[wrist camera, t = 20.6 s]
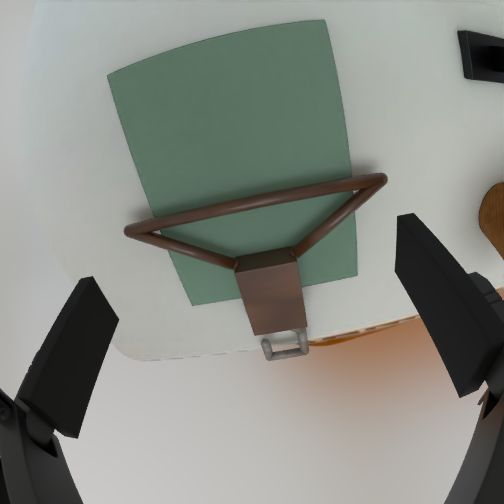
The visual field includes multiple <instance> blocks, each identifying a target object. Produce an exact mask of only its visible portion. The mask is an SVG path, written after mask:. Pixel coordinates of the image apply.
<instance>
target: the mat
mask: <svg viewBox="0 0 504 504" xmlns="http://www.w3.org/2000/svg"><path fill="white" fill-rule="evenodd" d="M107 78H108V81H109V85H110V88H111V92H112V95H113V99H114V102H115V105H116V108H117V112H118V115H119V118H120V121H121V125H122V128H123V131H124V134H125V137H126V140H127V143H128V146H129V149H130V152H131V155H132V158H133V160H134V163H135V166H136V169H137V172H138V175H139V177H140V180H141V183H142V186H143V188H144V191H145V194H146V196H147V199H148V202H149V204H150V207H151V210H152V212H153V215H154V217H155V218H157V217H161V216H165V215H169V214H173V213H177V212H181V211H185V210H189V209H194V208H198V207H202V206H206V205H211V204H215V203H220V202H224V201H229V200H233V199H238V198H243V197H247V196H252V195H257V194H262V193H267V192H272V191H277V190H282V189H287V188H292V187H298V186H303V185H308V184H314V183H320V182H325V181H331V180H337V179H343V178H349V177H352V174H351V164H350V155H349V147H348V139H347V132H346V125H345V118H344V111H343V105H342V99H341V93H340V88H339V82H338V77H337V72H336V66H335V62H334V57H333V52H332V48H331V43H330V39H329V34H328V30H327V26H326V22H325V20H314V21H304V22H295V23H287V24H280V25H273V26H267V27H261V28H255V29H250V30H245V31H240V32H236V33H231V34H227V35H223V36H219V37H215V38H211V39H207V40H203V41H200V42H196V43H193V44H189V45H186V46H183V47H180V48H176V49H173V50H170V51H167V52H164V53H162V54H159V55H156V56H153V57H150V58H148V59H145V60H143V61H140V62H137V63H135V64H132V65H130V66H128V67H125V68H123V69H120V70H118V71H116V72H114V73H111V74H109V75H107ZM352 196H353V191H348V192H342V193H336V194H330V195H325V196H319V197H314V198H308V199H303V200H298V201H292V202H287V203H282V204H277V205H272V206H267V207H262V208H257V209H252V210H247V211H243V212H238V213H233V214H228V215H224V216H219V217H214V218H210V219H205V220H201V221H196V222H192V223H188V224H183V225H179V226H175V227H170V228H166V229H162V230H160V232H161V235H164V236H167V237H170V238H173V239H176V240H179V241H182V242H185V243H188V244H192V245H195V246H198V247H201V248H204V249H207V250H210V251H214V252H217V253H220V254H223V255H226V256H229V257H232V258H235V257H237V256H242V255H248V254H253V253H258V252H263V251H268V250H274V249H279V248H284V247H289V246H294V245H296V244H297V243H298V242H299V241H300V240H302V239H303V238H304V237H305V236H306V235H307V234H309V233H310V232H311V231H312V230H313V229H314V228H316V227H317V226H318V225H319V224H320V223H321V222H323V221H324V220H325V219H326V218H327V217H328V216H330V215H331V214H332V213H333V212H334V211H335V210H337V209H338V208H339V207H340V206H341V205H342V204H343V203H345V202H346V201H347V200H348V199H349V198H350V197H352ZM168 252H169V254H170V257H171V259H172V261H173V264H174V266H175V268H176V271H177V273H178V275H179V277H180V280H181V282H182V284H183V287H184V289H185V291H186V293H187V295H188V298H189V300H190V302H191V304H192V306H194V305H201V304H207V303H214V302H220V301H226V300H232V299H238V298H242V296H241V293H240V290H239V287H238V284H237V281H236V278H235V275H234V271H233V270H230V269H226V268H223V267H220V266H217V265H214V264H210V263H207V262H204V261H201V260H198V259H194V258H191V257H188V256H185V255H182V254H179V253H176V252H172V251H169V250H168ZM297 264H298V270H299V276H300V282H301V287H305V286H310V285H315V284H320V283H325V282H330V281H335V280H340V279H345V278H349V277H354V276H357V275H358V274H357V242H356V223H355V211H354V212H353V213H352V214H351V215H350V216H348V217H347V218H346V219H345V220H344V221H343V222H341V223H340V224H339V225H338V226H337V227H336V228H334V229H333V230H332V231H331V232H330V233H328V234H327V235H326V236H325V237H324V238H322V239H321V240H320V241H319V242H318V243H316V244H315V245H314V246H313V247H312V248H310V249H309V250H308V251H307V252H306V253H304V254H303V255H302V256H301V257H300V258H298V259H297Z"/></svg>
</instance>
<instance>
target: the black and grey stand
mask: <svg viewBox="0 0 504 504" xmlns="http://www.w3.org/2000/svg"><path fill="white" fill-rule="evenodd" d="M458 36H459V41H460V47H461V53H462V60H463V68H464V76H465V78H466V79H471V80H481V81H490V82H498V83H504V39H502V38H498V37H494V36H490V35H485V34H481V33H476V32H471V31H466V30H464V31H458Z"/></svg>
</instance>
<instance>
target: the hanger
mask: <svg viewBox="0 0 504 504" xmlns="http://www.w3.org/2000/svg"><path fill="white" fill-rule="evenodd" d="M387 181H388V178H387V175H386V174H384V173H374V174H368V175H361V176H355V177H349V178H343V179H337V180H331V181H325V182H320V183H314V184H308V185H303V186H298V187H292V188H287V189H282V190H277V191H272V192H267V193H262V194H257V195H252V196H247V197H243V198H238V199H233V200H229V201H224V202H220V203H215V204H211V205H206V206H202V207H198V208H194V209H189V210H185V211H181V212H177V213H173V214H169V215H165V216H161V217H157V218H153V219H149V220H145V221H141V222H137V223H134V224H130V225H127V226H126V227H125V228H124V234H125V236H127V237H130V238H133V239H136V240H139V241H142V242H145V243H148V244H151V245H154V246H157V247H160V248H163V249H166V250H169V251H172V252H176V253H179V254H182V255H185V256H188V257H191V258H194V259H198V260H201V261H204V262H207V263H210V264H214V265H217V266H220V267H223V268H226V269H230V270H233V271H234V275H235V278H236V281H237V284H238V287H239V290H240V293H241V296H242V299H243V302H244V306H245V309H246V312H247V315H248V318H249V321H250V324H251V327H252V330H253V333H254V335H255V336H256V335H262V334H269V333H275V332H281V331H286V330H291V331H294V332H296V333H297V334H298V340H299V345H300V348H295V349H289V350H283V351H277V352H273V351H272V348H271V344H270V341H269V340H268V339H263V340H262V341H261V345H262V348H263V351H264V354H265V357H266V359H267V360H268V361H272V360H278V359H285V358H291V357H297V356H302V355H307V354H308V352H309V347H308V340H307V333H306V328H305V327H307V321H306V314H305V307H304V301H303V295H302V288H301V282H300V276H299V270H298V264H297V259H298V258H300V257H301V256H302V255H303V254H304V253H306V252H307V251H308V250H309V249H310V248H312V247H313V246H314V245H315V244H316V243H318V242H319V241H320V240H321V239H322V238H324V237H325V236H326V235H327V234H328V233H330V232H331V231H332V230H333V229H334V228H336V227H337V226H338V225H339V224H340V223H341V222H343V221H344V220H345V219H346V218H347V217H348V216H350V215H351V214H352V213H353V212H354V211H356V210H357V209H358V208H359V207H360V206H361V205H362V204H364V203H365V202H366V201H367V200H368V199H369V198H371V197H372V196H373V195H374V194H375V193H376V192H377V191H379V190H380V189H381V188H382V187H383V186H384V185H385V184H386V183H387ZM359 189H360V190H359ZM353 190H358V191H357V192H356V193H355V194H354V195H353V196H352V197H350V198H349V199H348V200H347V201H346V202H345V203H343V204H342V205H341V206H340V207H339V208H338V209H337V210H335V211H334V212H333V213H332V214H331V215H330V216H328V217H327V218H326V219H325V220H324V221H323V222H321V223H320V224H319V225H318V226H317V227H316V228H314V229H313V230H312V231H311V232H310V233H309V234H307V235H306V236H305V237H304V238H303V239H302V240H300V241H299V242H298V243H297V244H296V245H294V246H289V247H284V248H279V249H274V250H268V251H263V252H258V253H253V254H248V255H242V256H237V257H235V258H232V257H229V256H226V255H223V254H220V253H217V252H214V251H210V250H207V249H204V248H201V247H198V246H195V245H192V244H188V243H185V242H182V241H179V240H176V239H173V238H170V237H167V236H164V235H161V234H157V233H154V232H153V231H158V230H162V229H166V228H170V227H175V226H179V225H183V224H188V223H192V222H196V221H201V220H205V219H210V218H214V217H219V216H224V215H228V214H233V213H238V212H243V211H247V210H252V209H257V208H262V207H267V206H272V205H277V204H282V203H287V202H292V201H298V200H303V199H308V198H314V197H319V196H325V195H330V194H336V193H342V192H348V191H353Z"/></svg>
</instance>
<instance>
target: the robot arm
mask: <svg viewBox="0 0 504 504" xmlns="http://www.w3.org/2000/svg"><path fill="white" fill-rule="evenodd" d="M395 273H396V274H397V276H398V278H399V279H400V281H401V283H402V285H403V286H404V288H405V290H406V291H407V293H408V295H409V297H410V298H411V300H412V302H413V304H414V306H415V307H416V309H417V311H418V313H419V315H420V317H421V319H422V320H423V322H424V324H425V326H426V328H427V330H428V332H429V334H430V336H431V338H432V340H433V342H434V343H435V346H436V348H437V350H438V352H439V354H440V356H441V358H442V360H443V362H444V364H445V366H446V369H447V370H448V373H449V375H450V377H451V379H452V382H453V384H454V386H455V388H456V391H457V393H458V396H459V398H461V397H463V396H466V395H468V394H470V393H472V392H474V391H477V390H479V388H480V386H481V385H482V383H483V382H484V380H485V381H486V383H487V385H488V389H487V390H486V392H485V393H484V395H483V396H482V397H481V399H480V400H479V403H478V405H480V404H481V403H482V402H483V405H482V409H481V412H480V415H479V419H478V422H477V425H476V428H475V431H474V434H473V437H472V440H471V443H470V446H469V448H468V451H467V454H466V456H465V459H464V461H463V464H462V466H461V468H460V471H459V473H458V475H457V478H456V480H455V482H454V484H453V486H452V489H451V491H450V493H449V495H448V497H447V499H446V501H445V503H444V504H504V300H502V297H501V296H500V295H499V293H498V292H496V290H495V288H494V287H493V286H492V284H491V283H490V282H489V281H488V279H486V278H485V277H483V276H482V275H480V274H479V273H477V272H473V273H470V274H467V273H466V272H465V270H464V269H463V268H462V267H461V266H460V264H459V263H458V262H457V261H456V259H455V258H454V257H453V256H452V255H451V254H450V252H449V251H448V250H447V249H446V248H445V247H444V245H443V244H442V243H441V242H440V241H439V240H438V239H437V238H436V236H435V235H434V234H433V233H432V232H431V231H430V230H429V229H428V228H427V227H426V225H425V224H424V223H423V222H422V221H421V220H420V219H419V218H418V217H417V216H416V215H415V214H414V213H411V214H405V215H400V216H397V241H396V260H395ZM118 322H119V318H118V317H117V315H116V314H115V312H114V311H113V309H112V307H111V306H110V304H109V303H108V301H107V299H106V298H105V296H104V294H103V293H102V291H101V289H100V288H99V286H98V284H97V283H96V281H95V279H94V277H93V276H91V277H86V278H81V279H80V280H79V282H78V284H77V285H76V287H75V288H74V290H73V292H72V293H71V295H70V297H69V298H68V300H67V302H66V303H65V305H64V307H63V308H62V310H61V312H60V313H59V315H58V317H57V319H56V321H55V322H54V324H53V326H52V328H51V330H50V331H49V333H48V335H47V337H46V339H45V341H44V342H43V344H42V346H41V348H40V350H39V351H38V352H37V353H36V355H35V357H34V359H33V361H32V365H30V367H29V369H28V373H26V375H25V378H24V380H23V382H22V384H21V386H20V388H19V391H18V393H17V395H16V397H15V399H14V401H13V400H12V399H11V398H10V397H9V396H8V395H6V394H5V393H4V392H3V391H2V390H1V389H0V504H83V502H82V499H81V497H80V495H79V493H78V490H77V488H76V486H75V484H74V481H73V479H72V476H71V474H70V471H69V468H68V466H67V463H66V460H65V458H64V455H63V452H62V449H61V446H60V443H59V440H58V438H57V437H56V436H55V435H54V434H53V432H54V429H56V430H57V431H58V432H60V433H61V434H62V435H64V436H67V437H71V438H76V439H77V438H78V436H79V433H80V429H81V426H82V423H83V419H84V416H85V413H86V410H87V407H88V403H89V400H90V397H91V394H92V391H93V389H94V385H95V383H96V380H97V377H98V374H99V371H100V369H101V366H102V363H103V360H104V358H105V355H106V352H107V350H108V347H109V344H110V342H111V339H112V337H113V334H114V332H115V329H116V327H117V324H118Z"/></svg>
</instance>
